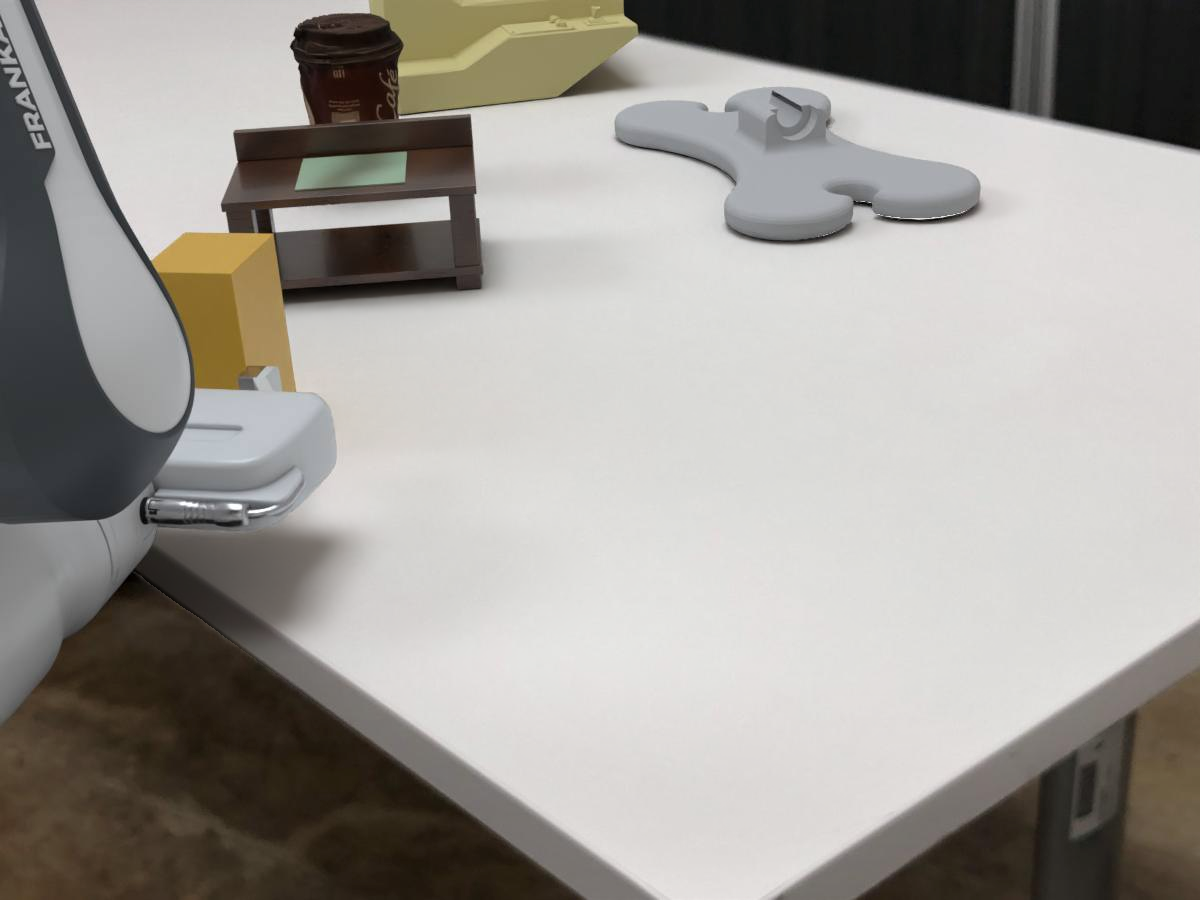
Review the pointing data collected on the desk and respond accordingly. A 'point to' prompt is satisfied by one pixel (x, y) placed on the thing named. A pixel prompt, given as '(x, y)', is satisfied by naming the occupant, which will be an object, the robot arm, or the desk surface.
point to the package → (228, 305)
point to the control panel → (498, 48)
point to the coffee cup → (348, 67)
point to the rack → (361, 198)
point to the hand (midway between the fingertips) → (177, 375)
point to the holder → (795, 163)
